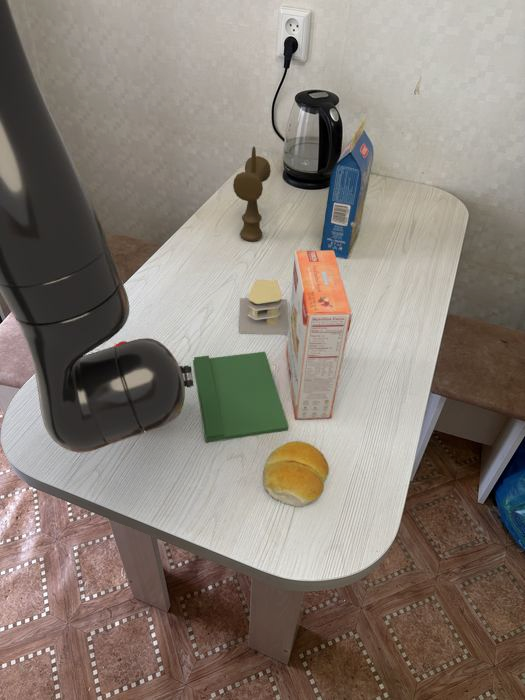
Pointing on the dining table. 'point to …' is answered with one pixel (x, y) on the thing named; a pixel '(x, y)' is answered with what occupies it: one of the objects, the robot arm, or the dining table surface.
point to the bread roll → (295, 473)
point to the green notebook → (238, 396)
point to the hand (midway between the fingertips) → (141, 380)
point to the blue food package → (347, 195)
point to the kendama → (252, 194)
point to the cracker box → (316, 333)
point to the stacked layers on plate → (264, 310)
